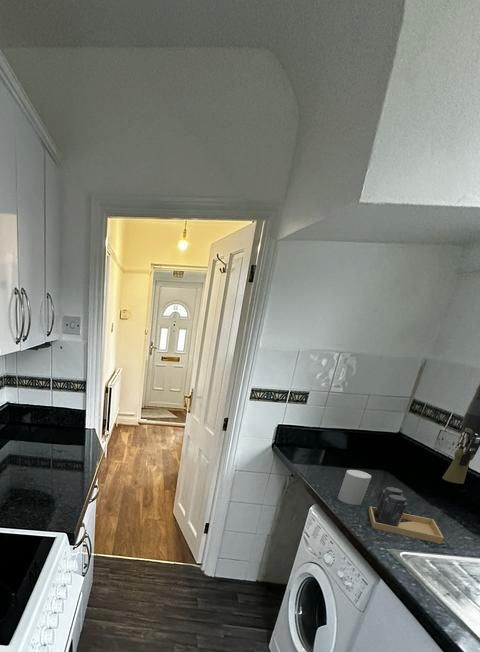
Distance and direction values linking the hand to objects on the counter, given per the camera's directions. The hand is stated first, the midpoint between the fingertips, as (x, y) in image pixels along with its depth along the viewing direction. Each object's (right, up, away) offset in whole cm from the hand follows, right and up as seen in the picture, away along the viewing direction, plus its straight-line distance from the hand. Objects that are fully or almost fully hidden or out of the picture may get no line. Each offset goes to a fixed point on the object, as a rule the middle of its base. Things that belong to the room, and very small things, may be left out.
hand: (460, 462), depth 140 cm
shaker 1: (-21, -19, +6) cm, 29 cm away
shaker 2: (-25, -22, 0) cm, 33 cm away
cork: (0, -6, +3) cm, 7 cm away
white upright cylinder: (-26, -14, +19) cm, 35 cm away
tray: (-19, -22, +1) cm, 29 cm away
